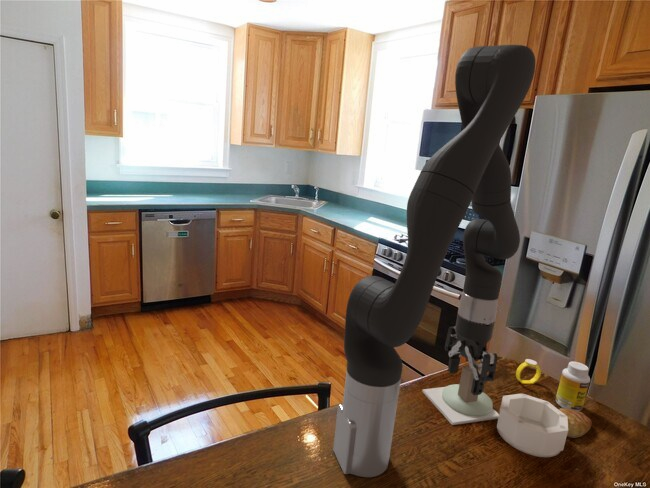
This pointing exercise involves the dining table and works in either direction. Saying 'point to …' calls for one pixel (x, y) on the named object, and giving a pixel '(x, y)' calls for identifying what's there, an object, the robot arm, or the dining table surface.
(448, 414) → the mat
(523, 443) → the bowl
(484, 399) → the lid
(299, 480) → the dining table surface
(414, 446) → the dining table surface
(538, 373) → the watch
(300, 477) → the dining table surface
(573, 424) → the pastry
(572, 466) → the dining table surface
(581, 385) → the supplement bottle
